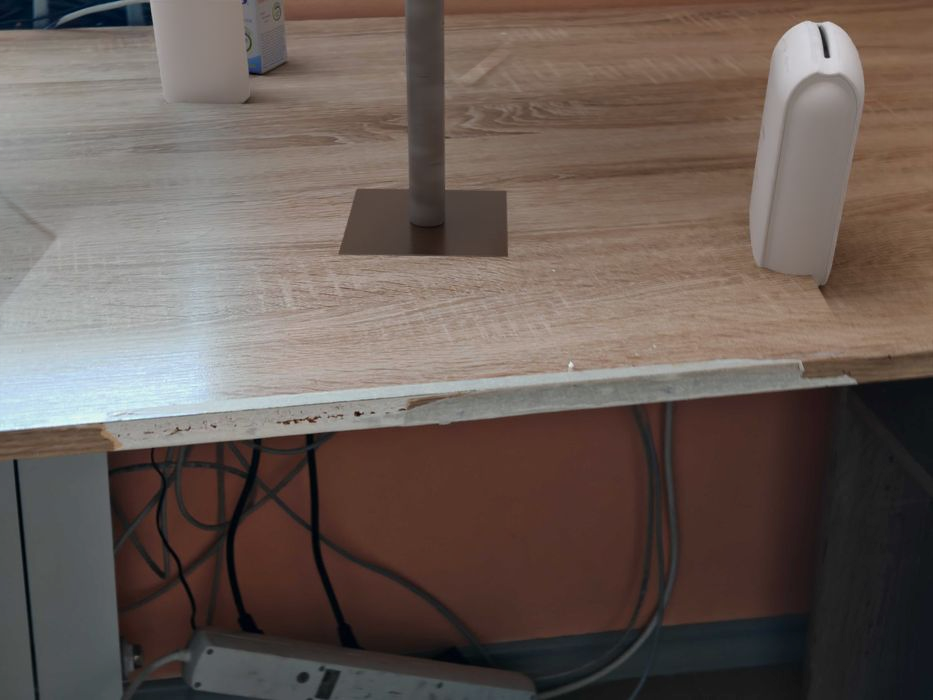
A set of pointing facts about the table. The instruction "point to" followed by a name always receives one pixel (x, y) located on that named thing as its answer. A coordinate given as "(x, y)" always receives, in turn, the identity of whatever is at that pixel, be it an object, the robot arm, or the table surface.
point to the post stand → (426, 171)
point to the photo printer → (805, 150)
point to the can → (201, 51)
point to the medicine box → (264, 34)
